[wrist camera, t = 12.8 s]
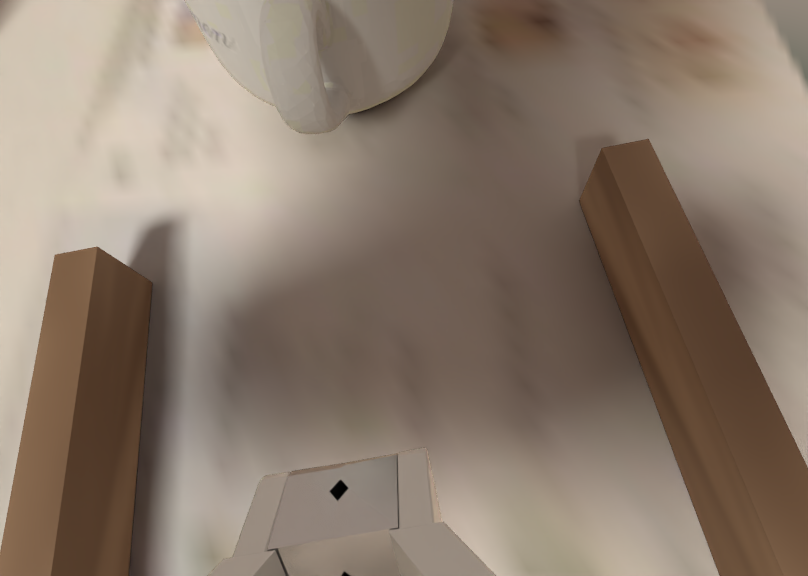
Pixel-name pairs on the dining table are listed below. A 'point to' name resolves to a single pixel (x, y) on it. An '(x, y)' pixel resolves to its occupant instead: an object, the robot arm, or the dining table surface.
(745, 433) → the wooden l-brackets
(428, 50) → the teacup
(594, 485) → the dining table surface
